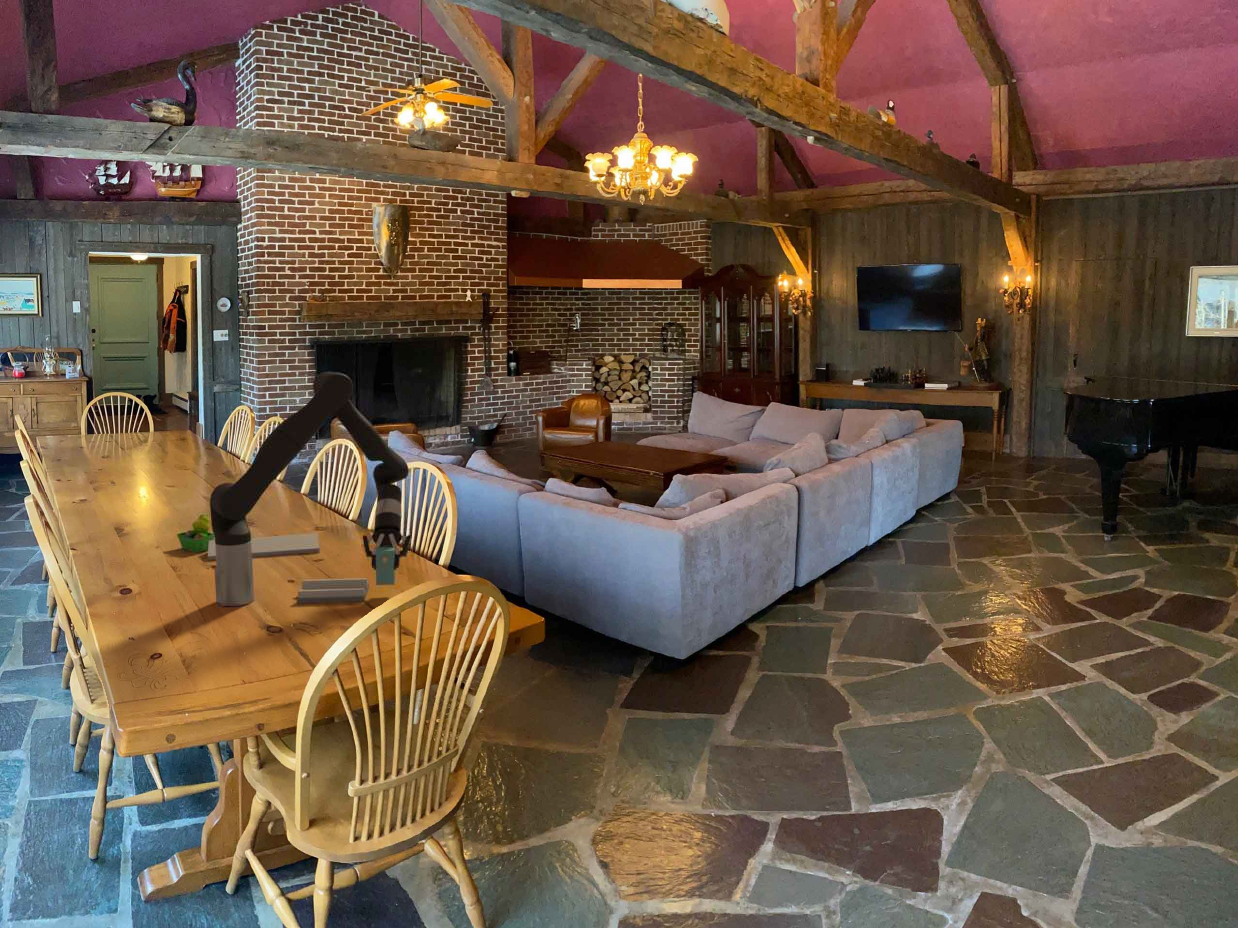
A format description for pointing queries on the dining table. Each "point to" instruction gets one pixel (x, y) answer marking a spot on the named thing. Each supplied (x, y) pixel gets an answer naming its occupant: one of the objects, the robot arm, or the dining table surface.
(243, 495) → the robot arm
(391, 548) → the teal cabinet block
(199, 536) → the fruit basket
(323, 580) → the cleat board
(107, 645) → the dining table surface
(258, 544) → the light grey long block
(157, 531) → the dining table surface
